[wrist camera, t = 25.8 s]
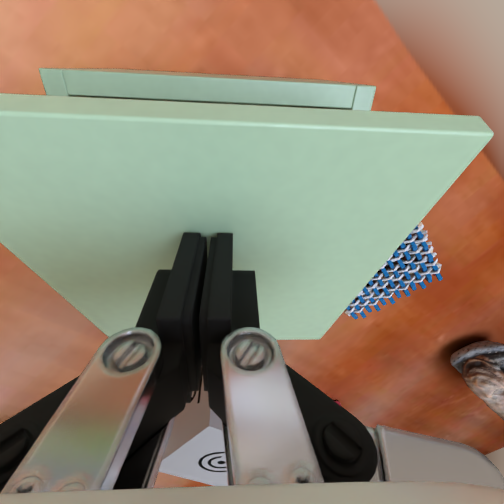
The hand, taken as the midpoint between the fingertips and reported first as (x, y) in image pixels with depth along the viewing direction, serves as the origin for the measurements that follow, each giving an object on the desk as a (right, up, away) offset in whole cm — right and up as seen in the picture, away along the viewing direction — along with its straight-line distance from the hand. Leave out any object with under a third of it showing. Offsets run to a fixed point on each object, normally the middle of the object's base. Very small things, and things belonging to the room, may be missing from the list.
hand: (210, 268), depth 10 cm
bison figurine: (+32, -13, +27) cm, 44 cm away
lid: (0, 0, +3) cm, 3 cm away
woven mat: (+13, 0, +18) cm, 22 cm away
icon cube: (-2, -15, +26) cm, 30 cm away
